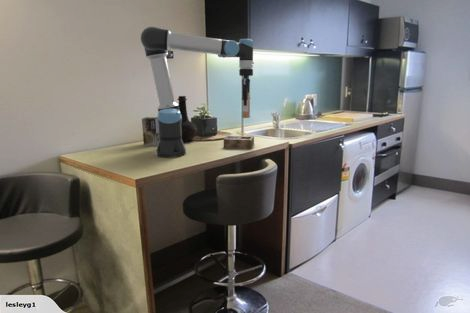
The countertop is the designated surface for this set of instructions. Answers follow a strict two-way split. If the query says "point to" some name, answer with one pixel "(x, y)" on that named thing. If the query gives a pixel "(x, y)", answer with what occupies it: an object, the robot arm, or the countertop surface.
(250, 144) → the socket block
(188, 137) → the glass bottle
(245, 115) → the peg
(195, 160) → the countertop surface
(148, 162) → the countertop surface
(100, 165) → the countertop surface
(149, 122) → the coffee box
